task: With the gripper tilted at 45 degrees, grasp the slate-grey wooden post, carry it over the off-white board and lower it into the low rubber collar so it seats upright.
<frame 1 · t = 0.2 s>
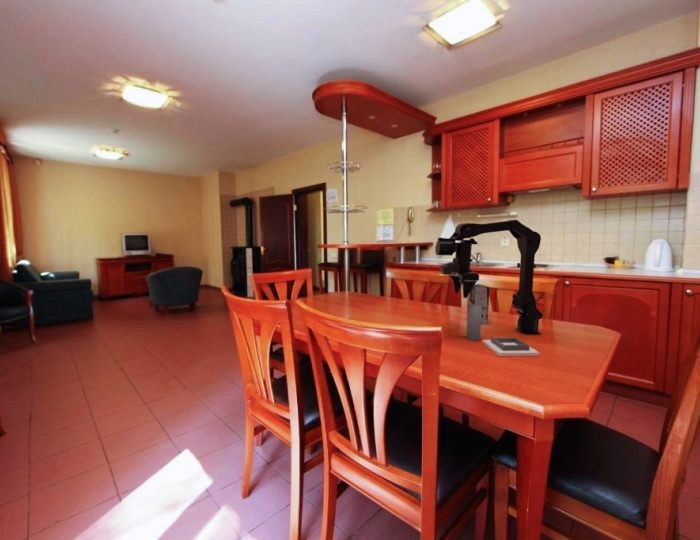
hand: (460, 295, 129), 15 cm above the table, tool pointing down, fingers open, 9 cm apart
seat board: (509, 348, 112), on the table
coffee box: (477, 321, 147), on the table
slate post: (473, 338, 123), on the table
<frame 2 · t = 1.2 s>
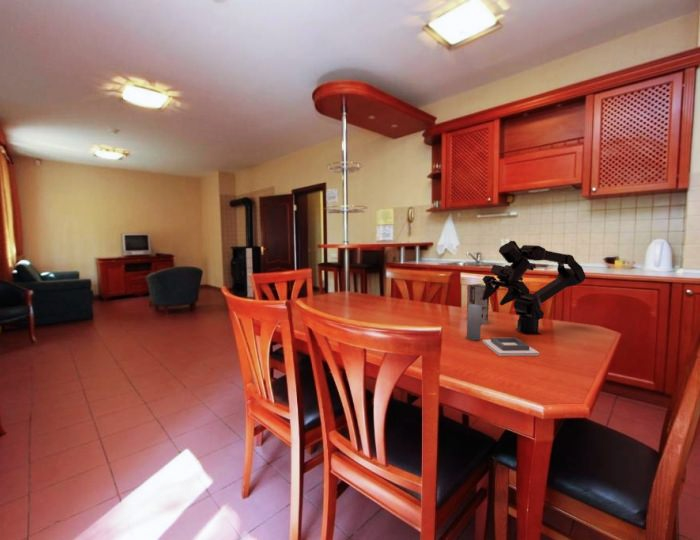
hand: (491, 302, 124), 13 cm above the table, tool tilted 45°, fingers open, 9 cm apart
nothing on the table moved.
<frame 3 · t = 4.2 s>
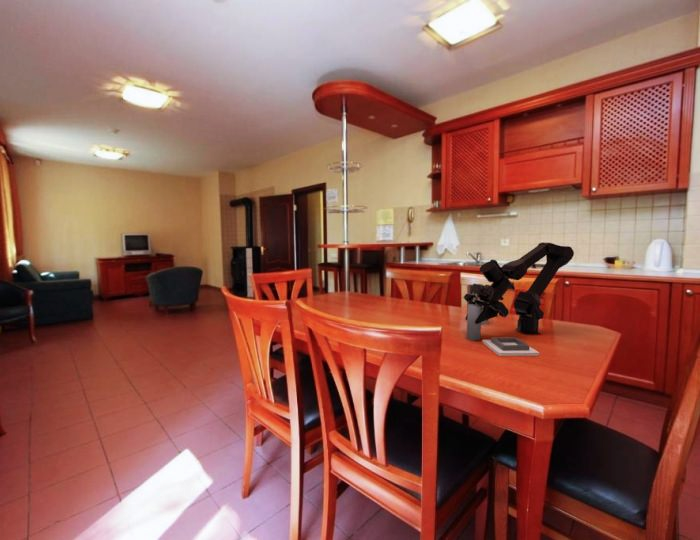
hand: (470, 321, 122), 7 cm above the table, tool tilted 45°, fingers closed on slate post, 5 cm apart
slate post: (473, 338, 123), on the table, touching gripper
everything else where it was.
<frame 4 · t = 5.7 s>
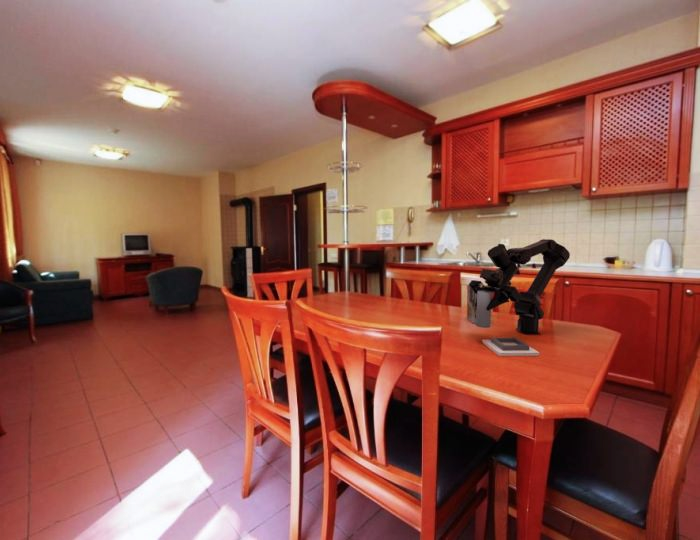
hand: (481, 308, 117), 12 cm above the table, tool tilted 45°, fingers closed on slate post, 5 cm apart
slate post: (483, 325, 119), point 6 cm above the table, touching gripper
everything else where it was.
when the fingers open (8 cm above the table, at t = 7.7 s): slate post stays where it is, resting on seat board.
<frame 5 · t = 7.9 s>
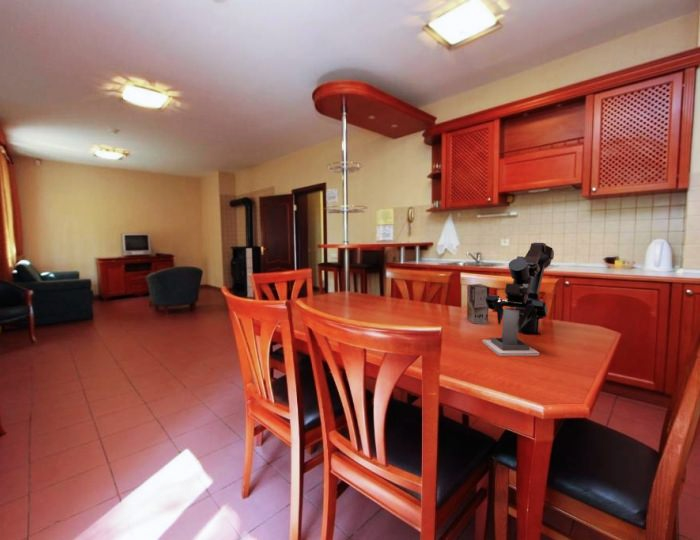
hand: (509, 325, 110), 8 cm above the table, tool tilted 45°, fingers open, 6 cm apart
slate post: (509, 345, 112), point 1 cm above the table, touching seat board
everything else where it was.
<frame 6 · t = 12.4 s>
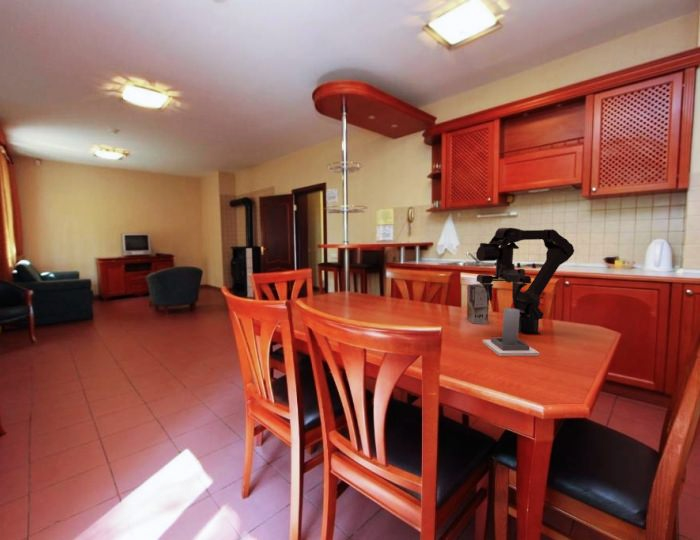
hand: (502, 300, 128), 13 cm above the table, tool pointing down, fingers open, 9 cm apart
nothing on the table moved.
at the end: slate post 0.0 cm off-centre on the seat board, point 1.0 cm above the seat board's base; slate post tilted 1°; the gripper is holding nothing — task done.
